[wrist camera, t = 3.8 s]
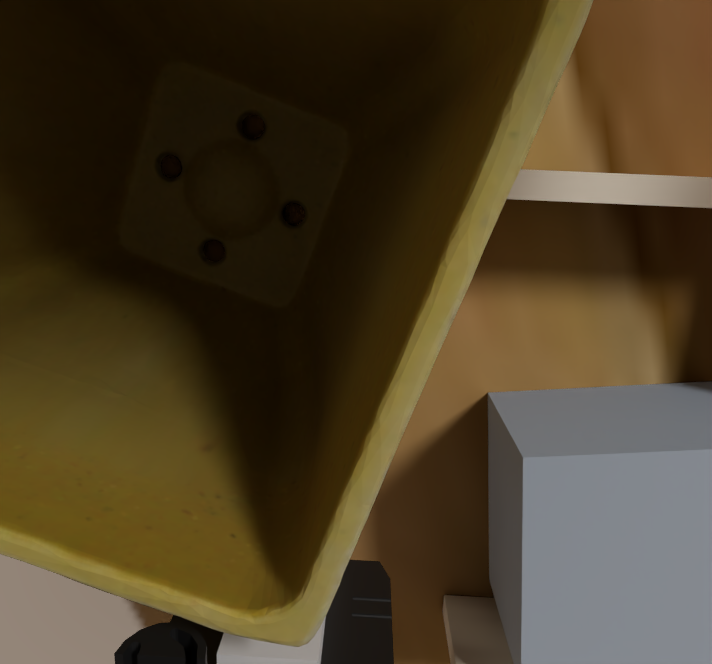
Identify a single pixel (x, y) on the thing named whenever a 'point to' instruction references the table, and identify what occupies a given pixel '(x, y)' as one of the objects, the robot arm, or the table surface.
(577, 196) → the wooden wall shelf
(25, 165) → the flower pot
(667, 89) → the table surface
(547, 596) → the slate block
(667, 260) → the table surface
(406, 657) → the table surface
